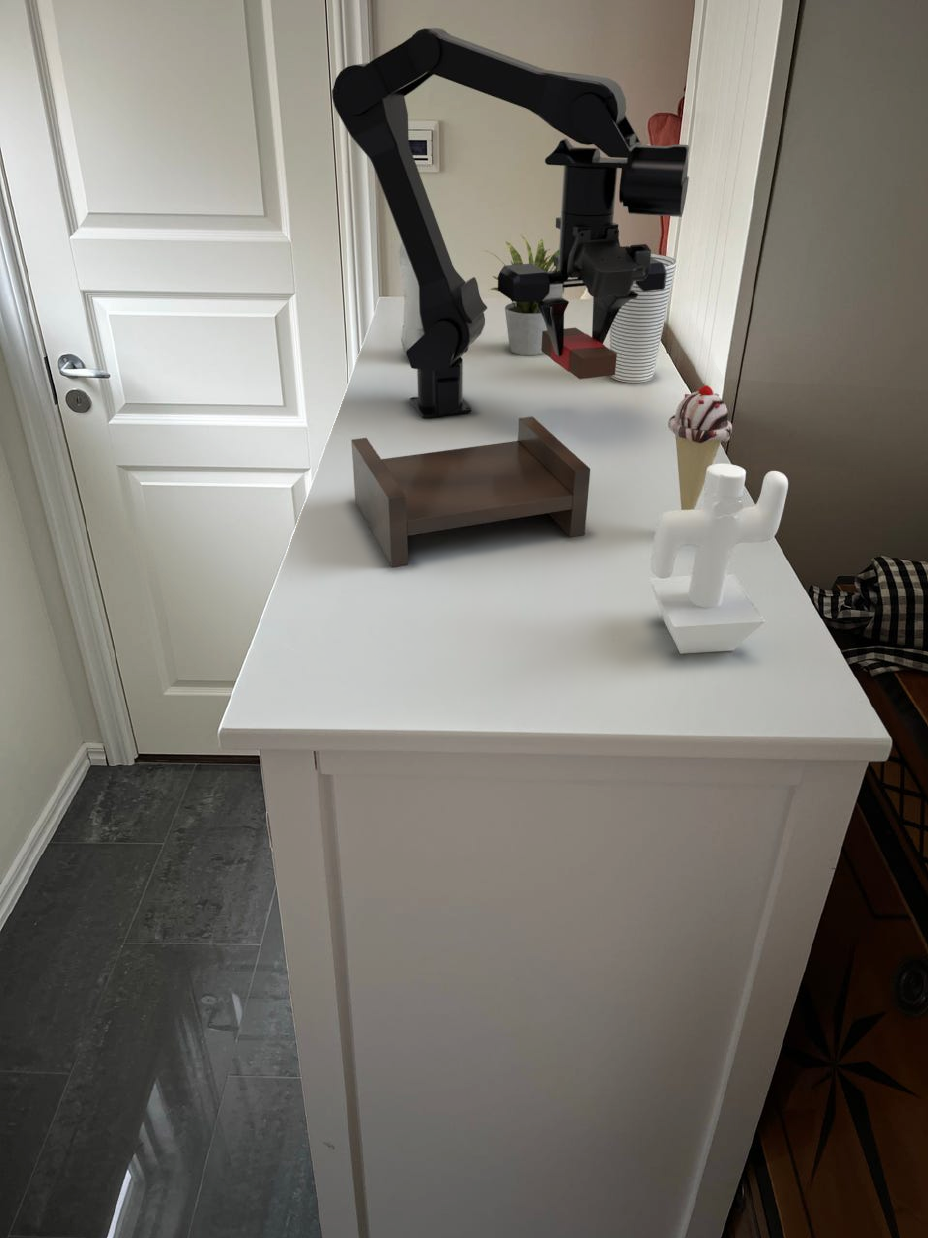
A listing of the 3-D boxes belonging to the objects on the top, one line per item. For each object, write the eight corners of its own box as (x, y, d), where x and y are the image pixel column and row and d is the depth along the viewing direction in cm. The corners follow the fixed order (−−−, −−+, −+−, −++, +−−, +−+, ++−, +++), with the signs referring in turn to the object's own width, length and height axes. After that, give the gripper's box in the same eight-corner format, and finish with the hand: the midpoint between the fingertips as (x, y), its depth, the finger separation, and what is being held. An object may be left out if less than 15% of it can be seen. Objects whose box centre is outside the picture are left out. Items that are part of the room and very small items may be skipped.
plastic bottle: (452, 352, 138) (452, 207, 127) (436, 367, 132) (434, 216, 121) (411, 348, 140) (408, 204, 128) (394, 362, 134) (389, 213, 123)
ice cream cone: (713, 551, 88) (740, 398, 80) (652, 544, 89) (673, 393, 81) (712, 523, 93) (737, 377, 85) (654, 518, 94) (674, 372, 86)
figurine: (630, 615, 79) (651, 450, 71) (738, 609, 80) (771, 446, 71) (654, 666, 73) (679, 492, 65) (770, 659, 74) (809, 486, 65)
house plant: (599, 346, 141) (609, 231, 132) (557, 371, 131) (564, 249, 122) (517, 331, 147) (521, 220, 138) (471, 353, 137) (472, 236, 128)
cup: (614, 362, 134) (625, 249, 126) (670, 372, 131) (685, 257, 122) (590, 379, 128) (600, 262, 120) (649, 390, 125) (663, 270, 116)
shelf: (355, 502, 96) (351, 439, 93) (529, 477, 102) (532, 416, 98) (391, 567, 85) (388, 498, 82) (584, 534, 91) (590, 468, 87)
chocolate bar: (540, 351, 114) (541, 330, 113) (574, 347, 116) (576, 326, 114) (579, 379, 106) (580, 357, 104) (615, 375, 107) (617, 353, 106)
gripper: (538, 230, 92) (531, 383, 101) (701, 219, 98) (681, 365, 106) (497, 211, 101) (494, 353, 110) (649, 201, 106) (635, 337, 115)
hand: (577, 352), depth 110 cm, fingers closed on chocolate bar, 4 cm apart
